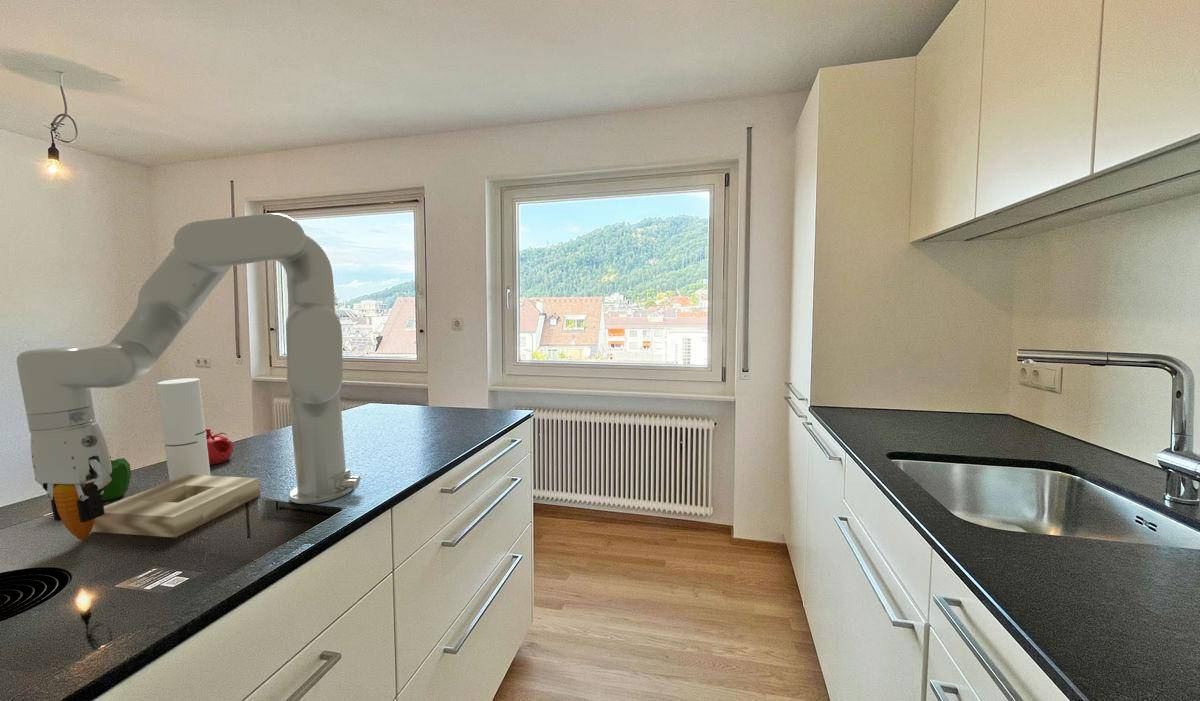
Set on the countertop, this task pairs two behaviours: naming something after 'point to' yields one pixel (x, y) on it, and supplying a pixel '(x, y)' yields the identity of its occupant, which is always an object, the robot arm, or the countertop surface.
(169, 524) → the maple block
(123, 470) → the bell pepper
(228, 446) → the pomegranate
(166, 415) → the cylindrical container
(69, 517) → the carrot
